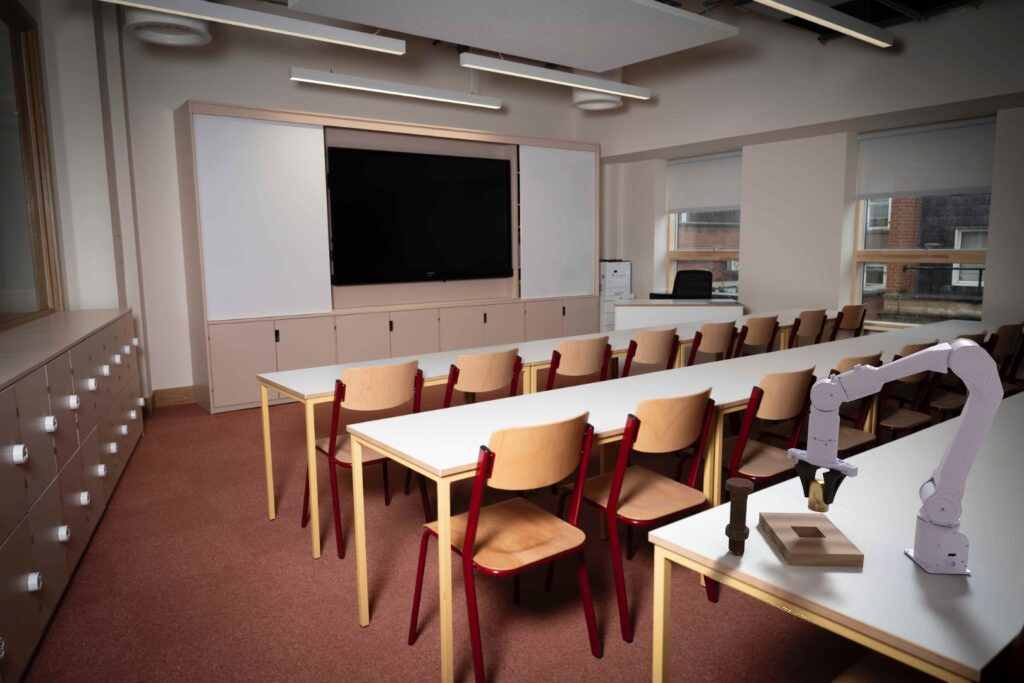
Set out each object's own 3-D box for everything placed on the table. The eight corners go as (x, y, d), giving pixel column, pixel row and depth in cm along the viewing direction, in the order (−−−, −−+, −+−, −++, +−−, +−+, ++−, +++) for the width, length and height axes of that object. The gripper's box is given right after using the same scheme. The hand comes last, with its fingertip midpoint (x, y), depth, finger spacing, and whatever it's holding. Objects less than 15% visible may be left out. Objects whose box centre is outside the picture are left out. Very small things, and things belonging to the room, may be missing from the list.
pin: (832, 509, 143) (834, 482, 142) (821, 514, 141) (823, 486, 140) (814, 503, 146) (816, 476, 145) (803, 507, 144) (805, 480, 143)
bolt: (745, 546, 142) (749, 477, 139) (755, 557, 137) (758, 486, 134) (718, 547, 141) (721, 477, 139) (726, 558, 136) (729, 486, 134)
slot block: (863, 566, 133) (864, 554, 132) (789, 565, 134) (790, 553, 133) (822, 524, 153) (823, 513, 152) (758, 522, 153) (759, 512, 153)
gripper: (868, 442, 137) (862, 507, 139) (802, 426, 149) (798, 485, 151) (848, 448, 133) (843, 514, 135) (782, 431, 145) (779, 492, 147)
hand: (818, 500), depth 143 cm, fingers closed on pin, 4 cm apart
